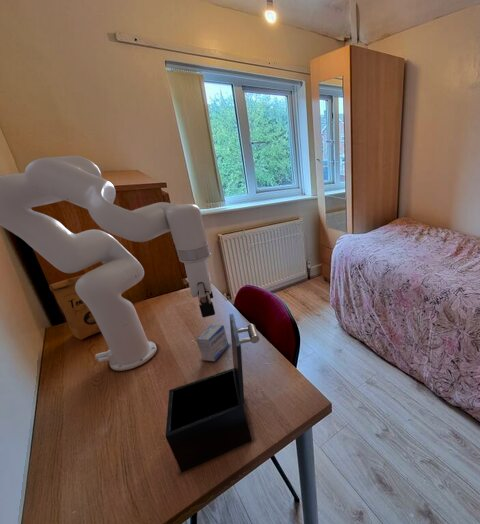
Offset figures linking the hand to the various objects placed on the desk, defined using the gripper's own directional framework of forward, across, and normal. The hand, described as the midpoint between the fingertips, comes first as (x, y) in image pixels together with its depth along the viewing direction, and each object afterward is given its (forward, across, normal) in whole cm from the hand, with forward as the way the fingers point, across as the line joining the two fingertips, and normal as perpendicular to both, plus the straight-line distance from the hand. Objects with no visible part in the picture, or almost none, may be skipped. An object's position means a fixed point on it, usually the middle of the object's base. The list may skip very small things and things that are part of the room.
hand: (208, 306), depth 82 cm
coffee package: (+21, -39, -41) cm, 61 cm away
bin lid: (0, +25, +5) cm, 25 cm away
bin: (+20, +25, -3) cm, 32 cm away
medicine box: (+20, -5, -2) cm, 21 cm away
